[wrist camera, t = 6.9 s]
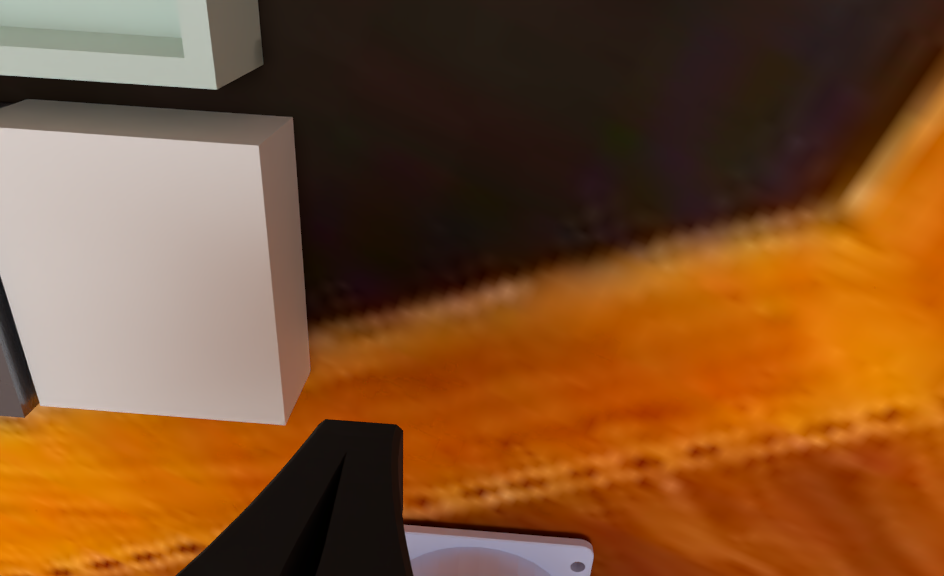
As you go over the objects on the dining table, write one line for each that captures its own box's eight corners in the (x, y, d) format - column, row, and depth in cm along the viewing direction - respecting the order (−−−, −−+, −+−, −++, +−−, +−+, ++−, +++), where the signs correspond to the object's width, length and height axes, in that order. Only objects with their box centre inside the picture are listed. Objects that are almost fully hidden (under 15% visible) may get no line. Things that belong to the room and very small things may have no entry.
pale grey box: (313, 364, 22) (285, 425, 19) (98, 347, 22) (40, 405, 19) (296, 113, 18) (258, 145, 15) (36, 95, 18) (-47, 124, 15)
